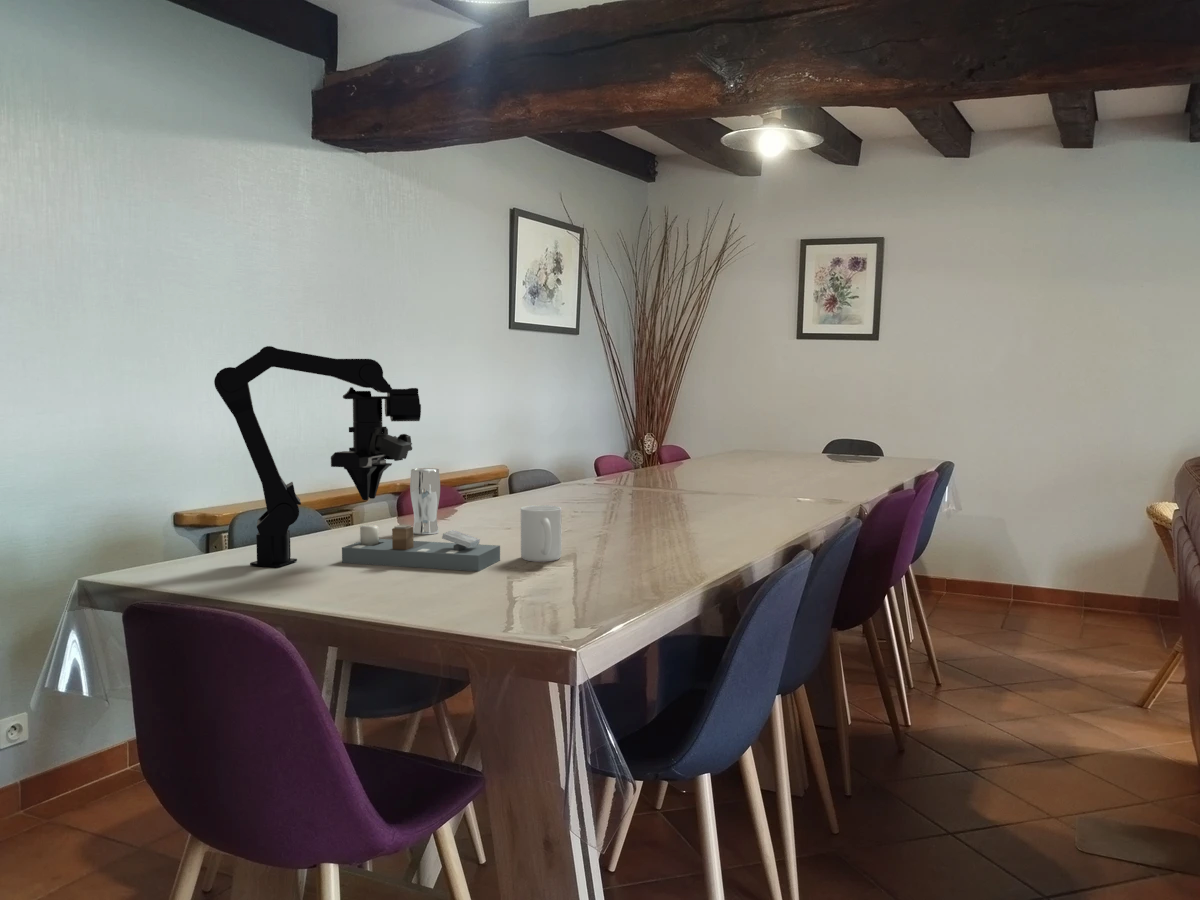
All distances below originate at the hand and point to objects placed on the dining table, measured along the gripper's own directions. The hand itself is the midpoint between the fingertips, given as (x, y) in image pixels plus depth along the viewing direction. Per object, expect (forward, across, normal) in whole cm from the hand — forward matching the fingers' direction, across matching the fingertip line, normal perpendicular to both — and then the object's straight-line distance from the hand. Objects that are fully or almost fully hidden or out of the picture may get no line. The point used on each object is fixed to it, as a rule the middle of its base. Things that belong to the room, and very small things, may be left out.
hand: (368, 499), depth 185 cm
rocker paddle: (+7, 0, -20) cm, 21 cm away
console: (+12, 0, -12) cm, 17 cm away
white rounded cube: (+9, 0, 0) cm, 9 cm away
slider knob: (+9, -3, -9) cm, 13 cm away
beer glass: (+12, +32, +3) cm, 34 cm away
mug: (+12, +8, -34) cm, 37 cm away
